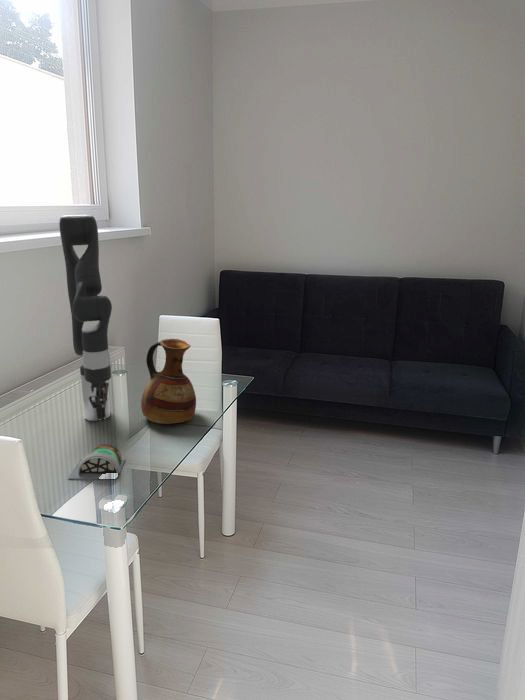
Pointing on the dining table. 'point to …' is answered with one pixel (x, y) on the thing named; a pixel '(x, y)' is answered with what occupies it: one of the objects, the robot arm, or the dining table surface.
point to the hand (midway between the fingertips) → (101, 418)
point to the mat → (87, 476)
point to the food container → (102, 460)
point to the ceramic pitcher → (168, 386)
